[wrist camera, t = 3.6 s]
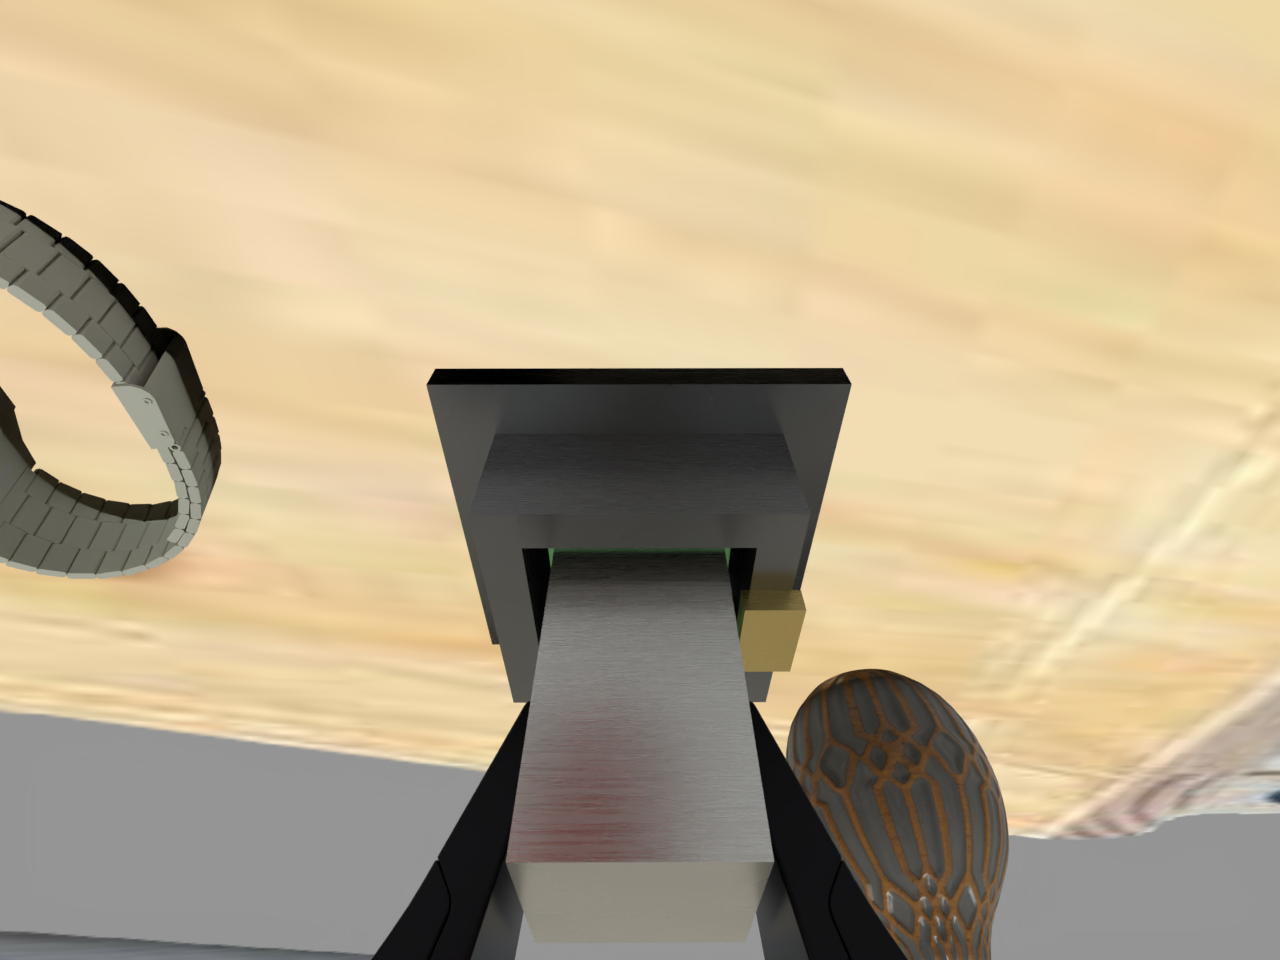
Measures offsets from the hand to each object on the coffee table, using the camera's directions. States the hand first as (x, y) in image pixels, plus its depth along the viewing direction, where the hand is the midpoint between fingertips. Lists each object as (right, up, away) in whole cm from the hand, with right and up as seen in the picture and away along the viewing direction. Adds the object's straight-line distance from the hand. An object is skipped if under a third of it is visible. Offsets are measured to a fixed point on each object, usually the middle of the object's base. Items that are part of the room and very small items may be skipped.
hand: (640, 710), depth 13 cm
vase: (+9, -4, +11) cm, 14 cm away
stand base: (0, +4, +5) cm, 6 cm away
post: (0, +3, +3) cm, 4 cm away
